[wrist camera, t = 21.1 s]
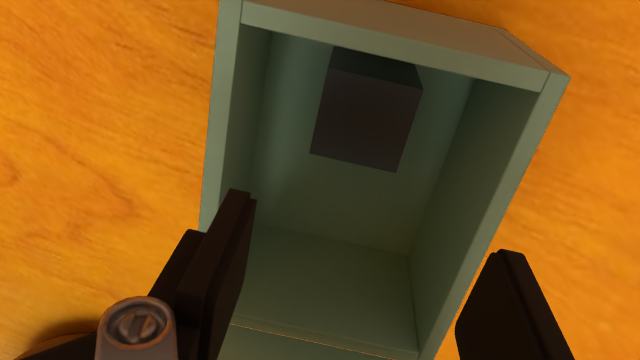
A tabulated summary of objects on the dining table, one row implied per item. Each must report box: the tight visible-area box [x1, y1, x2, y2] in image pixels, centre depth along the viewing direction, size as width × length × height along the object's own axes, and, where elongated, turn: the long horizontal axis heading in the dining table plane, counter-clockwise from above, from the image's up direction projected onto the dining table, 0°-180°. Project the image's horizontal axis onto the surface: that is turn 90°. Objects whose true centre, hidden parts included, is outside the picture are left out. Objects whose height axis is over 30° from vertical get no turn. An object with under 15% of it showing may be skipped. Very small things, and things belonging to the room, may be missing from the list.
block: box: [309, 46, 424, 173], centre depth 23 cm, size 4×4×4 cm
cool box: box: [198, 0, 571, 360], centre depth 24 cm, size 16×13×9 cm
